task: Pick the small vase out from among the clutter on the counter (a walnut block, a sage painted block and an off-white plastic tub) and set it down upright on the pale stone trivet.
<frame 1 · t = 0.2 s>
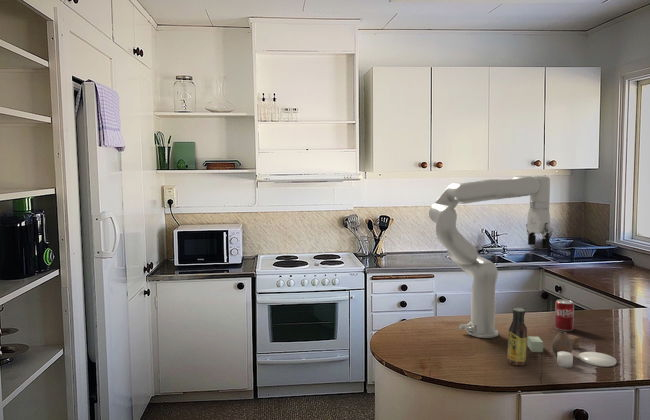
hand: (538, 246, 213), 36 cm above the counter, tool pointing down, fingers open, 9 cm apart
trivet: (597, 360, 184), on the counter
vase: (561, 356, 188), on the counter
sauce bottle: (516, 363, 181), on the counter
sage block: (534, 349, 195), on the counter
soda can: (563, 329, 218), on the counter
plastic tub: (564, 364, 180), on the counter
walnut block: (570, 346, 197), on the counter
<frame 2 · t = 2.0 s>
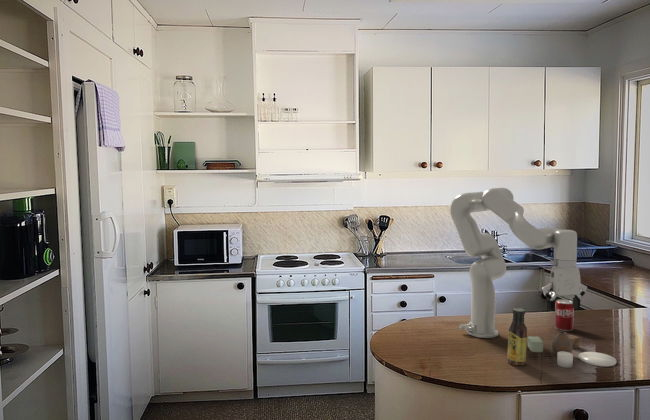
hand: (564, 309, 186), 18 cm above the counter, tool pointing down, fingers open, 9 cm apart
nothing on the counter moved.
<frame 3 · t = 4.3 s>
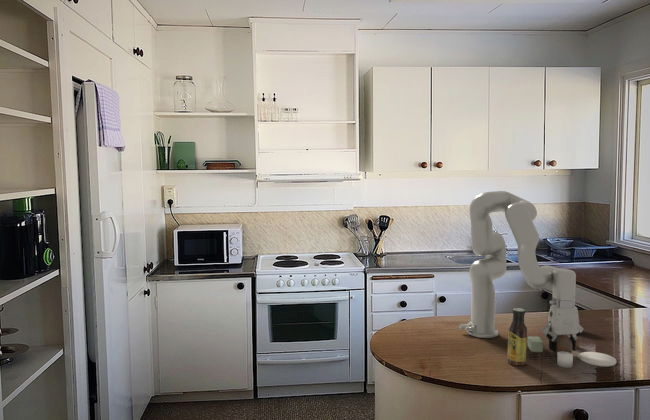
hand: (562, 349, 188), 2 cm above the counter, tool pointing down, fingers closed on vase, 6 cm apart
vase: (561, 356, 188), on the counter, touching gripper
everything else where it was.
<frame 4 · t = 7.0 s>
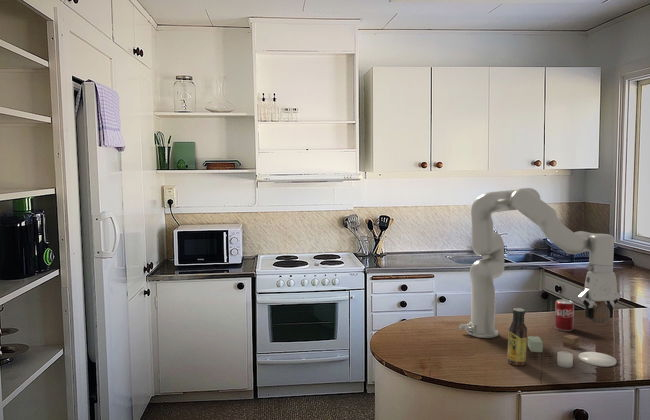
hand: (598, 316, 182), 16 cm above the counter, tool pointing down, fingers closed on vase, 6 cm apart
vase: (598, 323, 182), point 14 cm above the counter, touching gripper
everything else where it was.
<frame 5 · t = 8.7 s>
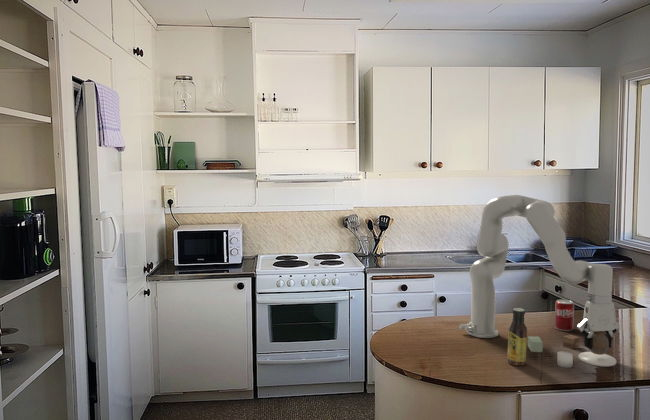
hand: (597, 346, 183), 5 cm above the counter, tool pointing down, fingers closed on vase, 6 cm apart
vase: (597, 353, 183), point 3 cm above the counter, touching gripper
everything else where it was.
when the fingers open (4 cm above the counter, at t = 10.0 s): vase stays where it is, resting on trivet.
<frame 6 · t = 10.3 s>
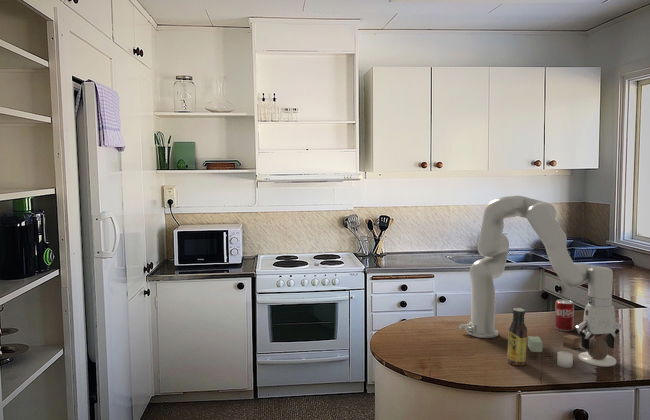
hand: (597, 347, 183), 5 cm above the counter, tool pointing down, fingers open, 9 cm apart
vase: (597, 358, 184), point 1 cm above the counter, touching trivet
everything else where it was.
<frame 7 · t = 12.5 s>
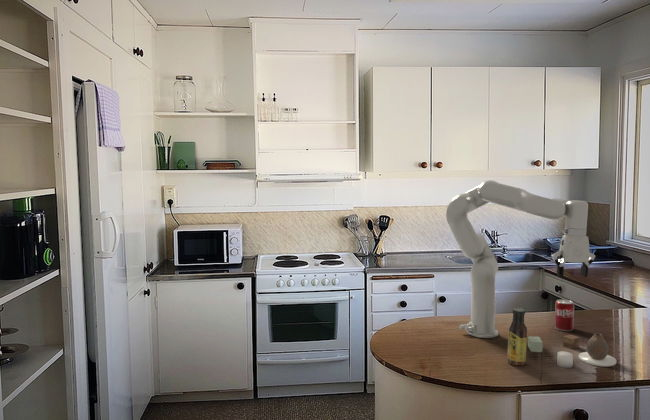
hand: (572, 276, 196), 27 cm above the counter, tool pointing down, fingers open, 9 cm apart
nothing on the counter moved.
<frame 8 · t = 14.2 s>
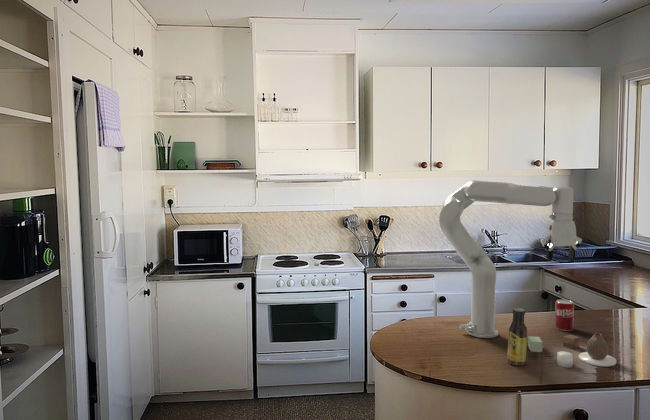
hand: (560, 259, 204), 32 cm above the counter, tool pointing down, fingers open, 9 cm apart
nothing on the counter moved.
at the end: vase inside the target area on the trivet (0.1 cm from its centre), point 0.6 cm above the trivet's base; vase tilted 0°; the gripper is holding nothing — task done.
